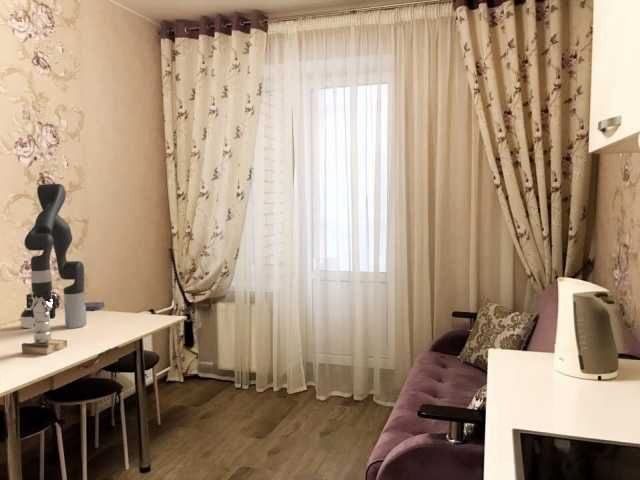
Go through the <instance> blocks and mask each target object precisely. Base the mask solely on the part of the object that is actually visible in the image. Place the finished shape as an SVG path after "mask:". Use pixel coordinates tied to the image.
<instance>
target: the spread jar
mask: <svg viewBox="0 0 640 480" xmlns="http://www.w3.org/2000/svg"><path fill="white" fill-rule="evenodd" d="M20 326H21V328H22V329H23V328H24V330H28V329H29V330H30V329H35V318H33V317H32V312H31V309H30V308H27V305H25V306H23V311H22V312H21V313H20Z"/></svg>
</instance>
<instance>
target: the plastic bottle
mask: <svg viewBox="0 0 640 480" xmlns="http://www.w3.org/2000/svg"><path fill="white" fill-rule="evenodd" d="M42 302H43V301H42V300H41V299H40V298H38V300H37V304H36V305H35V306H34V308H33V312H34V318H35V328H34V334H33V342H36V343H46V342H49V341H50V340H51V339H52V334H51V333H52V332H51V327H50V314H49V310H50V309H49V308H48V307H47V306H46V305H43V304H42Z"/></svg>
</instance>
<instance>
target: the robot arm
mask: <svg viewBox="0 0 640 480" xmlns="http://www.w3.org/2000/svg"><path fill="white" fill-rule="evenodd" d="M36 191H37V192H36V193H37V199H38V201H39V205H40V207H41V209H42V210H41V212H39V214H38V215H37V217H36V219H35V223H34V226H33V227H32V228H31V230H29V232H28V233H27V234H26V236H25V238H24V241H23V242H24V243H23V244H24V247H25V249H26V250H28V251H34V252H35V251H42V254H40V255H36V256H32V257H31V258H30V269H31V271H30V272H31V274H30V280H31V281H30V283H31V293H28V294H26V295H25V296H26V299H25V300H26V306H27V308H30V309H31V312H32V317H33V318H34V312H33V308H34V306H35V305H36V304H37V300H38V298H40V299H41V300H42V301H43V302H42V304H43V305H46V306H47V307H48V308H49V309H50V310H49V314H50V316H49V320H52V319H55V318H56V309H59V308H60V299H59V297H60V296H59V294H58V293H56V294H52V290H53V285H52V284H53V280H52V272H51V254H52V250H53V251H54V255H55V260H56V264H57V269H58V270H57V271H58V275H59V277H60V278H61V280H66V281H67V280H69V281H70V280H74V282H73V283H72V284H71V285H68V286H65V287H64V288H63V304H64V305H63V306H64V324H65V325H64V326H65V328H66V329H75V328H76V329H77V328H82V327H85V326H86V325H87V311H86V306H85V305H84V303H85V267H84V263H83V262H82V261H79V260H75V261H74V260H73V261H71V260H70V261H68V259H67V252H68V249H69V248H70V246H71V244H72V242H73V236H72V230H71V227H70V225H69V223H68V222H67V221H66V220H65V219H64V218H62V217H61V215H59V213H60V212H61V209H62V208H63V205H64V204H65V201H66V197H67V193H66V192H67V191H66V189H65V186H64V185H63V184H61V183H47V184H39V185H38V186H37V188H36Z"/></svg>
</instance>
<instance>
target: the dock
mask: <svg viewBox="0 0 640 480" xmlns="http://www.w3.org/2000/svg"><path fill="white" fill-rule="evenodd" d="M66 348H68V340H67V339H55V338H53V339H52V338H51V340H50V341H49V342H46V343H36V342H35V341H33V342H31V343H27V342H23V343H21V354H23V355H38V356H39V355H41V356H42V355H43V356H48V355H50V354H53V353H56V352H58V351H60V350H63V349H66Z"/></svg>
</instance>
